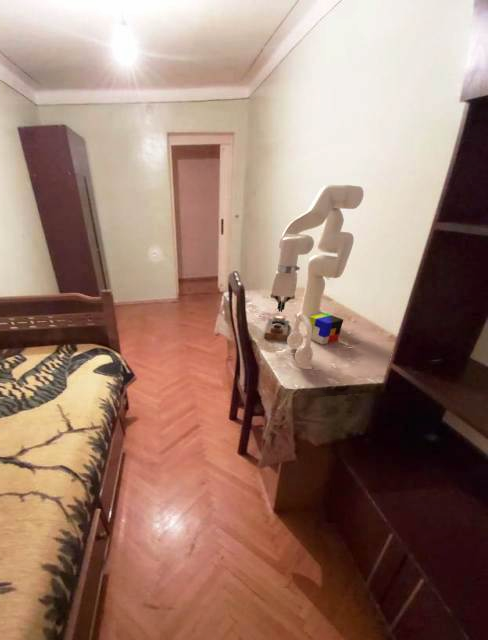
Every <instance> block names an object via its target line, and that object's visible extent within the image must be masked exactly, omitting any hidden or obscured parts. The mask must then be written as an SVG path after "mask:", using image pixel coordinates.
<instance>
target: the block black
mask: <svg viewBox="0 0 488 640" xmlns="http://www.w3.org/2000/svg"><path fill="white" fill-rule="evenodd" d="M275 323H279V324H281V325H284V327H288V328H289V324H290V320H286V317H283V319H282V321H276V316H273V318H269V319H268V323H267V325H269V326H271V325H272V324H275Z"/></svg>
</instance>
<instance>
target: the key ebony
mask: <svg viewBox="0 0 488 640" xmlns="http://www.w3.org/2000/svg"><path fill="white" fill-rule="evenodd" d="M280 327H281V324H279V323H275V325H274V328H280Z"/></svg>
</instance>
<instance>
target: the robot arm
mask: <svg viewBox="0 0 488 640" xmlns="http://www.w3.org/2000/svg"><path fill="white" fill-rule="evenodd" d="M363 199H364V189H363V187H362V186H359V185H352V184H328V185H324V186H323V187H322V188H320V190H319V192H318V193H317V195H316V196H315V198H314V200H313V201H312V203H311V205H310V206H309V208H308V209H307V211H306V212H304V213H303V214H301V215H299V216H298V217H297V218H295V219H294V220H292V221H291V222H290V223H289V224H288V225H287V226H286V228H285V230H284V231H283V233H282V235H281V237H280V239H279V243H278V247H279V250H280V251H279V258H278V266H277V270H276V271H275V274H274V277H273V280H272V281H273V282H272V288H271V294H270V298H271V299H275V301H277V310H278V313H280V312H281V313H282V312H283V311H284V310H285V307H286V303H287V302H288V301H290V300H295V299H296V292H297V291H296V290H297V285H298V284H297V283H298V272H297V271H300V269H301V267H300V266H298V260H299V256H300V255H301V256H303V255H308V254H309V253H310V252H311V251H312V250H313V248H314V246H315V239H314V238H313V237H312V236H311V235H308V234H300V233H303V232H305V231H309V230H312V229H315V228H317V227H320V226H322V225H323V226H322V229H321V232H320V235H319V238H318V242H317V250H318V251H320V252H322V253H325V254H313V256H311V257H310V258H309V259H308V262H307V273H306V274H307V275H306V282H305V287H304V292H303V296H302V297H303V298H302V301H301V302H302V303H301V306H300V311H299V312H298V313H296V318H297V317H298V315H301V314H304V315H306V316H307V318H308V319H309V320H310V317H311V316H315V315H320V314H325V313H327V314H329V312H326V311H324V310H321V306H322V302H323V301H322V300H323V297H324V292H325V289H326V281H325V278H331V279H338V278H340V277H341V276H342V275H343V273H344V271H345V269H346V267H347V263H348V261H349V258H350V255H351V252H352V249H353V245H354V242H355V241H354V235H353V233H351V232H349V231H342V229H343V225H344V222H345V221H344V215H343V212H342V211H341V209H346V210H355V209H357V208H358V207H360V205H361V204H362V202H363ZM327 253H328V254H336V256H334V255H326V254H327ZM282 297H283V300H282Z"/></svg>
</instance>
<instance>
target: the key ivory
mask: <svg viewBox="0 0 488 640" xmlns="http://www.w3.org/2000/svg"><path fill="white" fill-rule="evenodd" d="M275 317H276V321H282V319H283V318H284V316H283V315H276V316H275Z"/></svg>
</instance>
